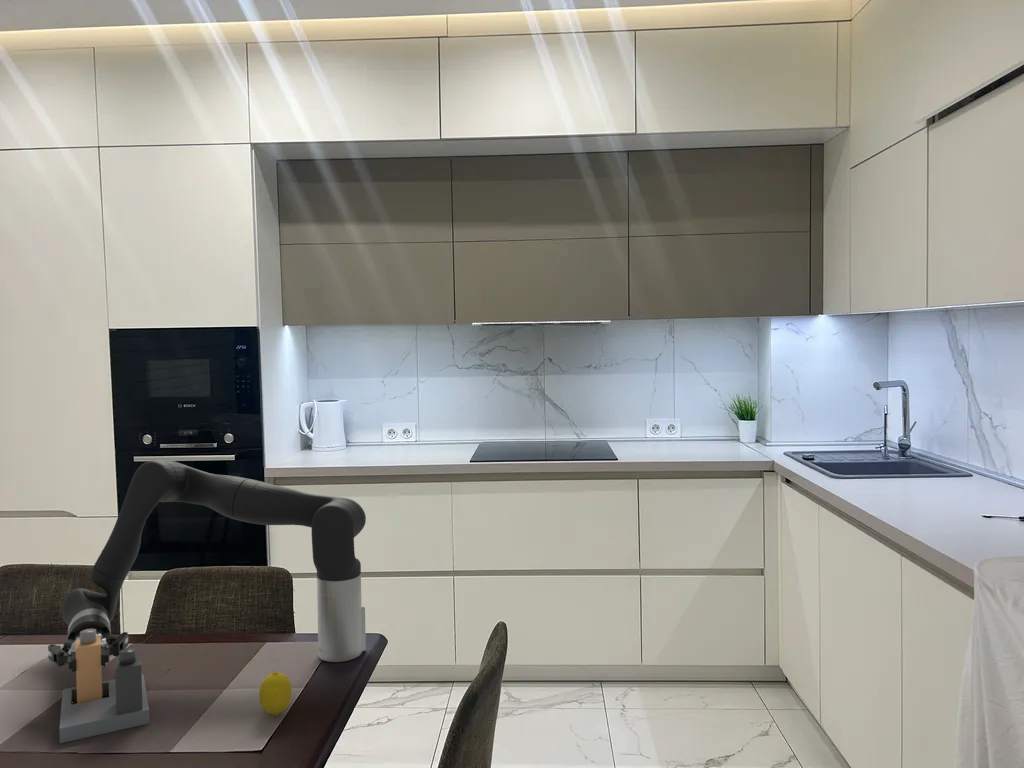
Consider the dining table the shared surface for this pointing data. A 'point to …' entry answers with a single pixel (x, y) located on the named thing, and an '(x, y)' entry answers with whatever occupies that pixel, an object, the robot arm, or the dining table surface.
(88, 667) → the plug
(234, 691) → the dining table surface
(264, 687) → the lemon
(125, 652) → the gray post stand
